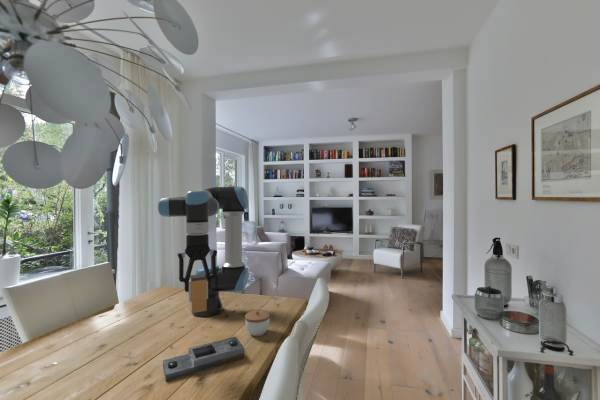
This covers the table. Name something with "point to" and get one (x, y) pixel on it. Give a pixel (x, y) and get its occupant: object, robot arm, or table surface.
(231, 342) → the slotted plate with knobs
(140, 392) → the table surface
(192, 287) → the square wooden peg
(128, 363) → the table surface
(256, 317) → the lidded jar
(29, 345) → the table surface
